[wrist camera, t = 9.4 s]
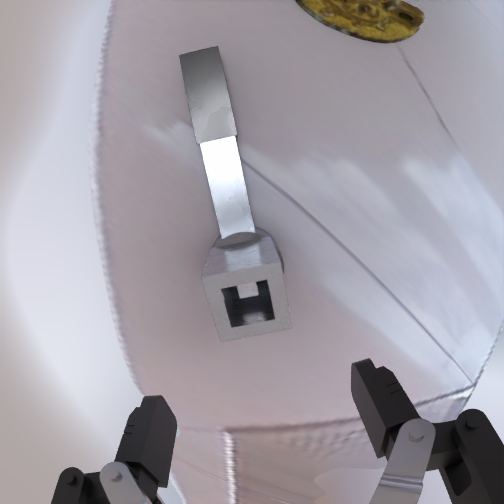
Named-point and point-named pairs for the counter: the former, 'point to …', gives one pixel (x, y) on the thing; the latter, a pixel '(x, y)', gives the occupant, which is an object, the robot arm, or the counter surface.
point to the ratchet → (220, 151)
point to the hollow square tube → (242, 272)
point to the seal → (367, 18)
